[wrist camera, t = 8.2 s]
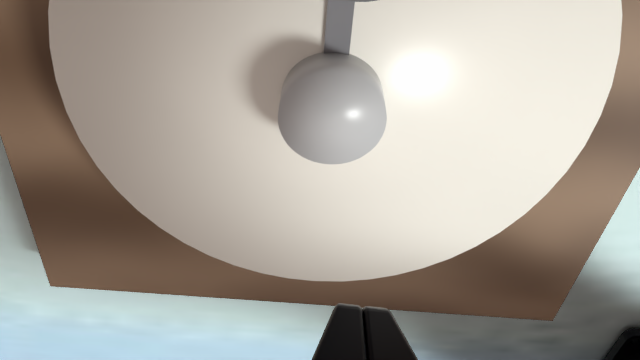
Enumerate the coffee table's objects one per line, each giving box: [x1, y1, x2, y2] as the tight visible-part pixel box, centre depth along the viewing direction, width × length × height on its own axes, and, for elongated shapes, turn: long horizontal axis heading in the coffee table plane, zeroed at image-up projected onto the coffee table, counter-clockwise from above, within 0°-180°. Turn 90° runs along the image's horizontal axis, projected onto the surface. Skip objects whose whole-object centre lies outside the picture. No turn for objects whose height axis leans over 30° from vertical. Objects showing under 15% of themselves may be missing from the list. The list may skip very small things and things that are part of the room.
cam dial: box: [48, 0, 622, 281], centre depth 14 cm, size 18×16×6 cm
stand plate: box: [0, 0, 640, 321], centre depth 17 cm, size 22×22×4 cm
